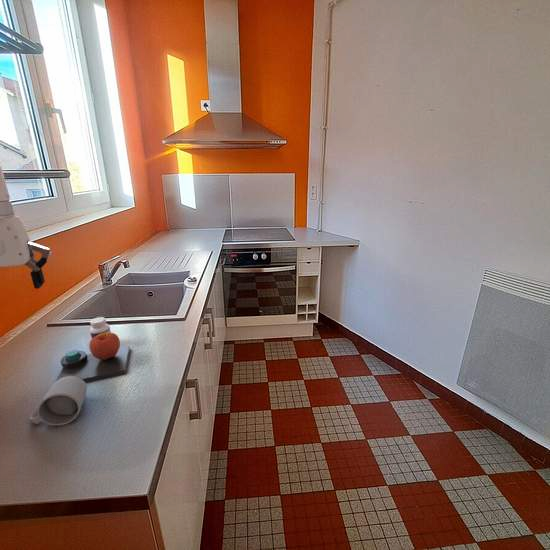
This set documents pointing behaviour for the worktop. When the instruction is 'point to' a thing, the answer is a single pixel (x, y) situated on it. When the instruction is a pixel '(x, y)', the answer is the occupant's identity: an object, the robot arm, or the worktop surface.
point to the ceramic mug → (61, 402)
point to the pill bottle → (98, 326)
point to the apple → (104, 345)
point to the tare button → (72, 355)
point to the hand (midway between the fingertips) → (13, 289)
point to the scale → (95, 366)
